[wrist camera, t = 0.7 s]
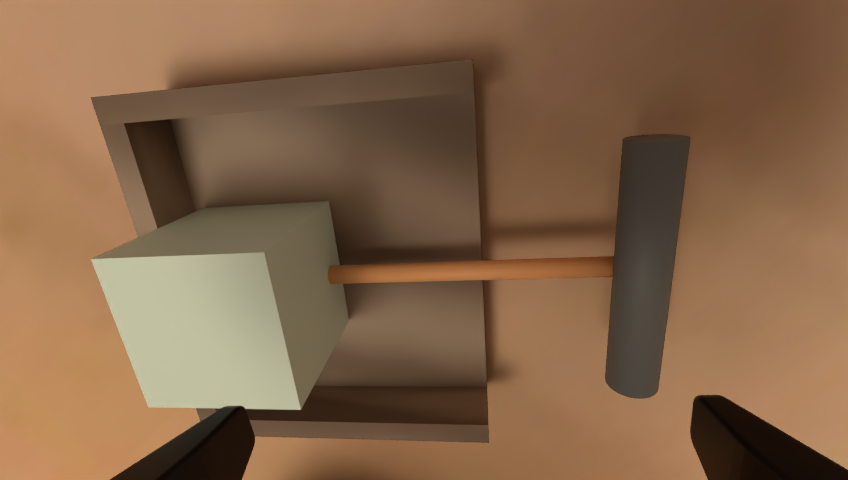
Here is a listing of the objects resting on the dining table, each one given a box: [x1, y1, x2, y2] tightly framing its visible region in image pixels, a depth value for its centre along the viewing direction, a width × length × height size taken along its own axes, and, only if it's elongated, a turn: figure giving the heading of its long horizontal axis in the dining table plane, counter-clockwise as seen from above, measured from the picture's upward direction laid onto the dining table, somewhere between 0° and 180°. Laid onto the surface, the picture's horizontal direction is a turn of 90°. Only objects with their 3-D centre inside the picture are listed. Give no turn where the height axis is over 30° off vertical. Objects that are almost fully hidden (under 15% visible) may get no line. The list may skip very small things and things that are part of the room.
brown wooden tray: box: [91, 59, 489, 443], centre depth 19 cm, size 16×14×4 cm
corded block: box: [91, 134, 690, 410], centre depth 16 cm, size 10×20×6 cm, turn 95°
